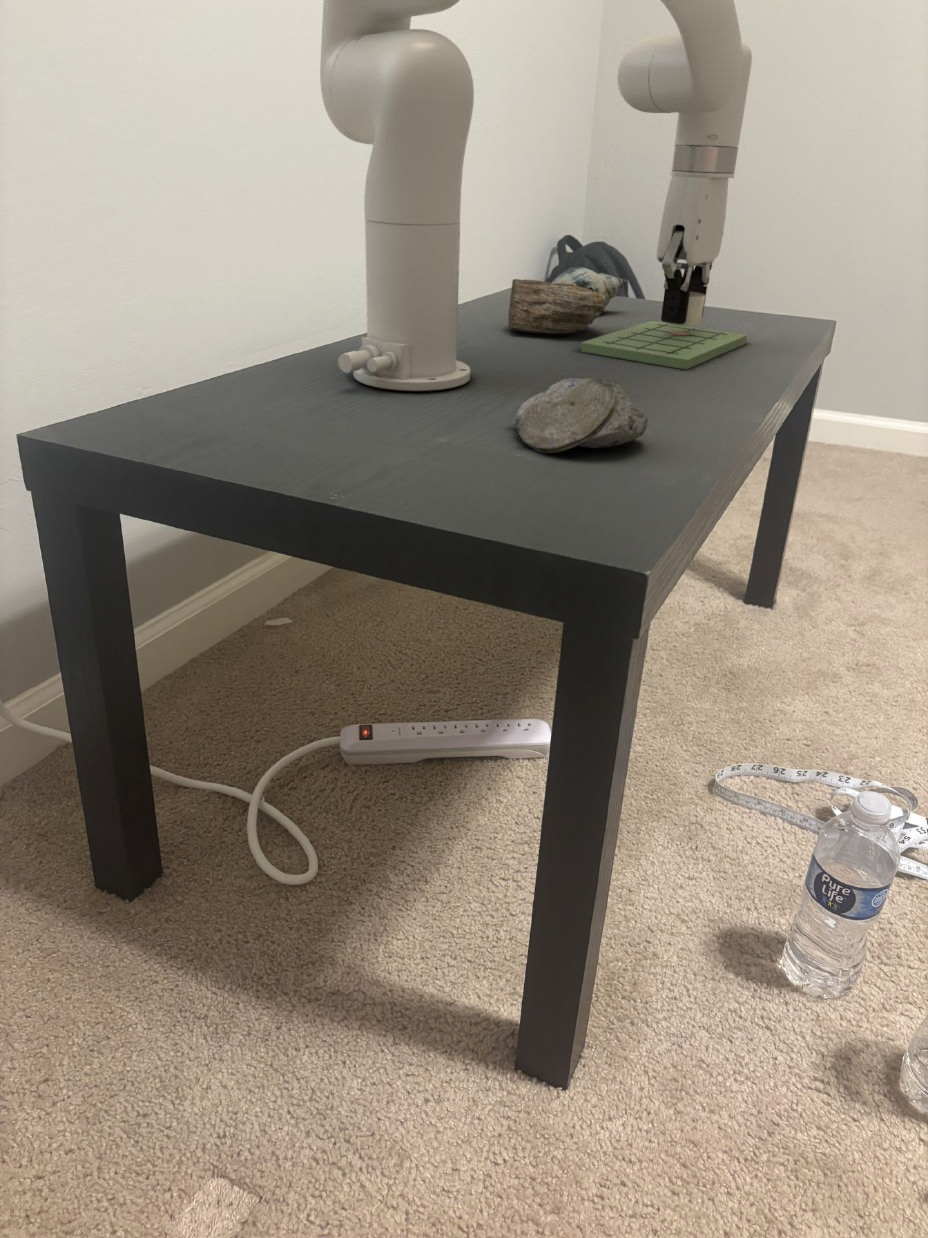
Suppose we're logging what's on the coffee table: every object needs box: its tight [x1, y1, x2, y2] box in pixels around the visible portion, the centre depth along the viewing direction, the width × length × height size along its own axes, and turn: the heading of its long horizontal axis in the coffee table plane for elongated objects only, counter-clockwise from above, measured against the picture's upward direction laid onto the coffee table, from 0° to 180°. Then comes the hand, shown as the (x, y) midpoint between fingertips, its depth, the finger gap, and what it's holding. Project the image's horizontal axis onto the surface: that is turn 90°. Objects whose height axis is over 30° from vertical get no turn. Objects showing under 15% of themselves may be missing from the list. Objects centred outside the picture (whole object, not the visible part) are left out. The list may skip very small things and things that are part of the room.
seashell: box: [551, 266, 627, 308], centre depth 136 cm, size 6×8×12 cm
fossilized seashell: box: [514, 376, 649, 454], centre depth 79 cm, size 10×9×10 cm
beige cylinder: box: [664, 292, 706, 327], centre depth 117 cm, size 5×5×4 cm
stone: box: [507, 278, 606, 335], centre depth 122 cm, size 14×10×10 cm
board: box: [580, 320, 748, 370], centre depth 116 cm, size 20×14×1 cm
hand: (682, 317), depth 117 cm, fingers closed on beige cylinder, 4 cm apart
